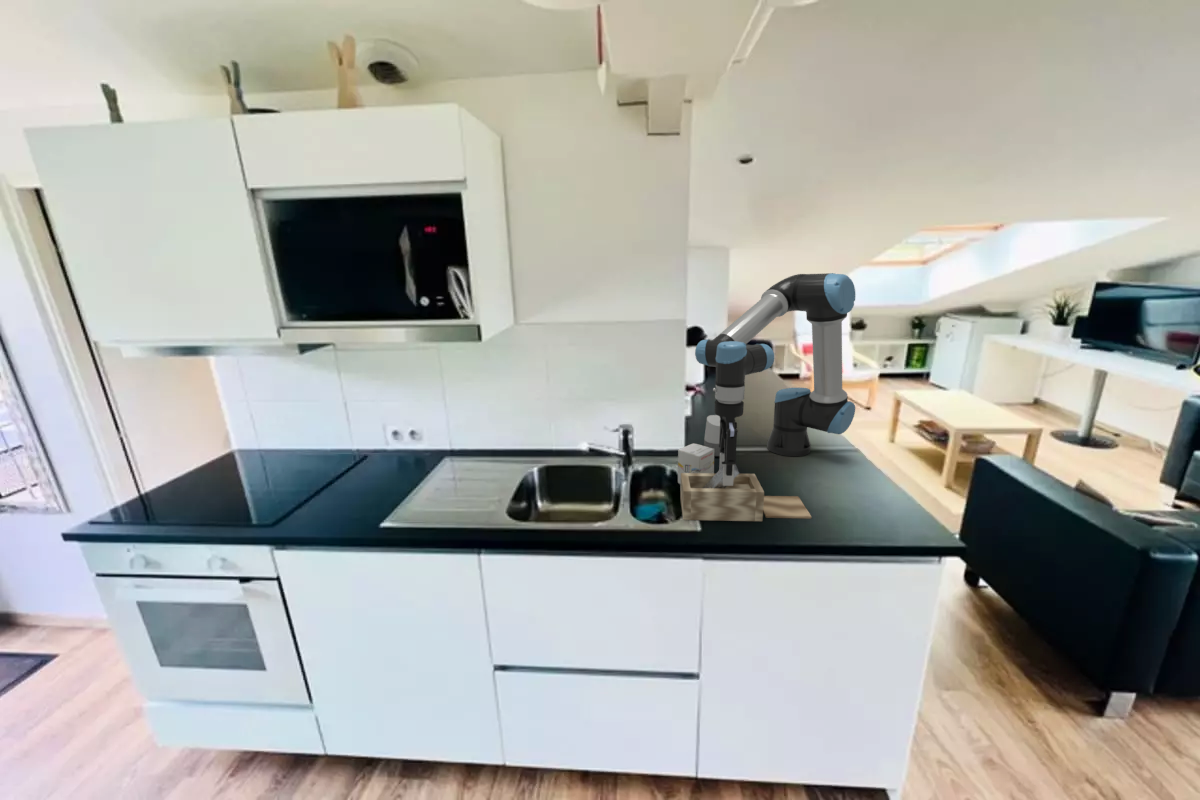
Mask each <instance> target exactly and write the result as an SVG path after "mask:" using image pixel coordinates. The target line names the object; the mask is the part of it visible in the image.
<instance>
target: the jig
mask: <svg viewBox="0 0 1200 800" xmlns="http://www.w3.org/2000/svg"><path fill="white" fill-rule="evenodd" d="M716 473H717V472H716ZM716 473H715V472H714V473H681V484H680V506H681V514H682V520H683V521H722V522H724V521H726V522H727V521H728V522H729V521H730V522H731V521H732V522H763V518H764V512H763V504H764V496H765V491H764V489H763V487H762V486H761V483H760V480H758V479H759V478H757V475H756V474H755V473H739V474H738V475H737V476H736V477H735V478H734V479H733V486H727V487H726V488H725V489H720V488H703V487H704V486H705V485H706V484H707V483H708V482H709V481H710V480H711V479H712V477H713V476H714V475H715V474H716Z"/></svg>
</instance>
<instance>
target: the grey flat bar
mask: <svg viewBox="0 0 1200 800" xmlns="http://www.w3.org/2000/svg"><path fill="white" fill-rule="evenodd" d="M738 474H740V472H739V469H738V467H737V465H734V478H735V477H736V476H737V475H738ZM726 487H727V486H723V466H722V468H721V469H720V470H719V469H718V471H717V472H716V474H715V475H714V476H713V477H712V479H711V480H710V481H709V482H708V483H707V484H706V485H705V486H704V487H703V488H720V489H725V488H726Z"/></svg>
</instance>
